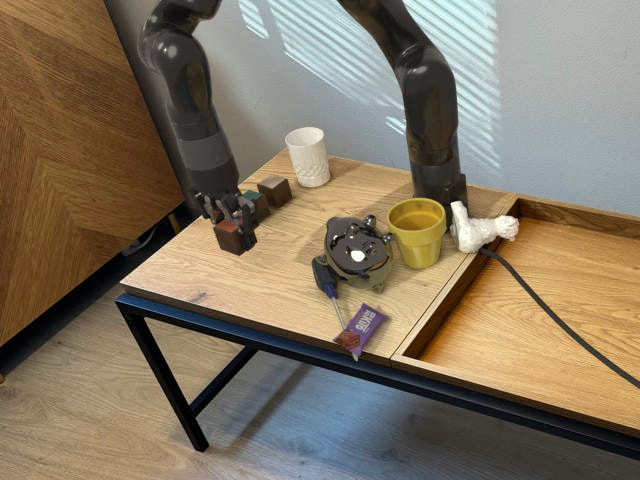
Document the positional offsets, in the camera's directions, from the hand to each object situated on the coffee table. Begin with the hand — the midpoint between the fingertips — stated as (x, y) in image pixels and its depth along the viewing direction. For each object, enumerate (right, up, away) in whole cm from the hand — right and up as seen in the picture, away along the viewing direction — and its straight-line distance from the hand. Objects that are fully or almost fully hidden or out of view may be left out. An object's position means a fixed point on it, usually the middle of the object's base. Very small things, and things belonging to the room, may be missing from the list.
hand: (238, 243), depth 136 cm
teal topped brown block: (-4, +9, +24) cm, 26 cm away
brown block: (-1, +12, +28) cm, 31 cm away
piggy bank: (+23, +3, -1) cm, 23 cm away
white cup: (+6, +18, +33) cm, 38 cm away
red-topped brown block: (0, 0, 0) cm, 0 cm away
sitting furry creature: (+36, +3, +10) cm, 38 cm away
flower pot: (+30, -1, +11) cm, 32 cm away
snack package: (+19, -13, -5) cm, 24 cm away
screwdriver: (+16, -12, +1) cm, 20 cm away
